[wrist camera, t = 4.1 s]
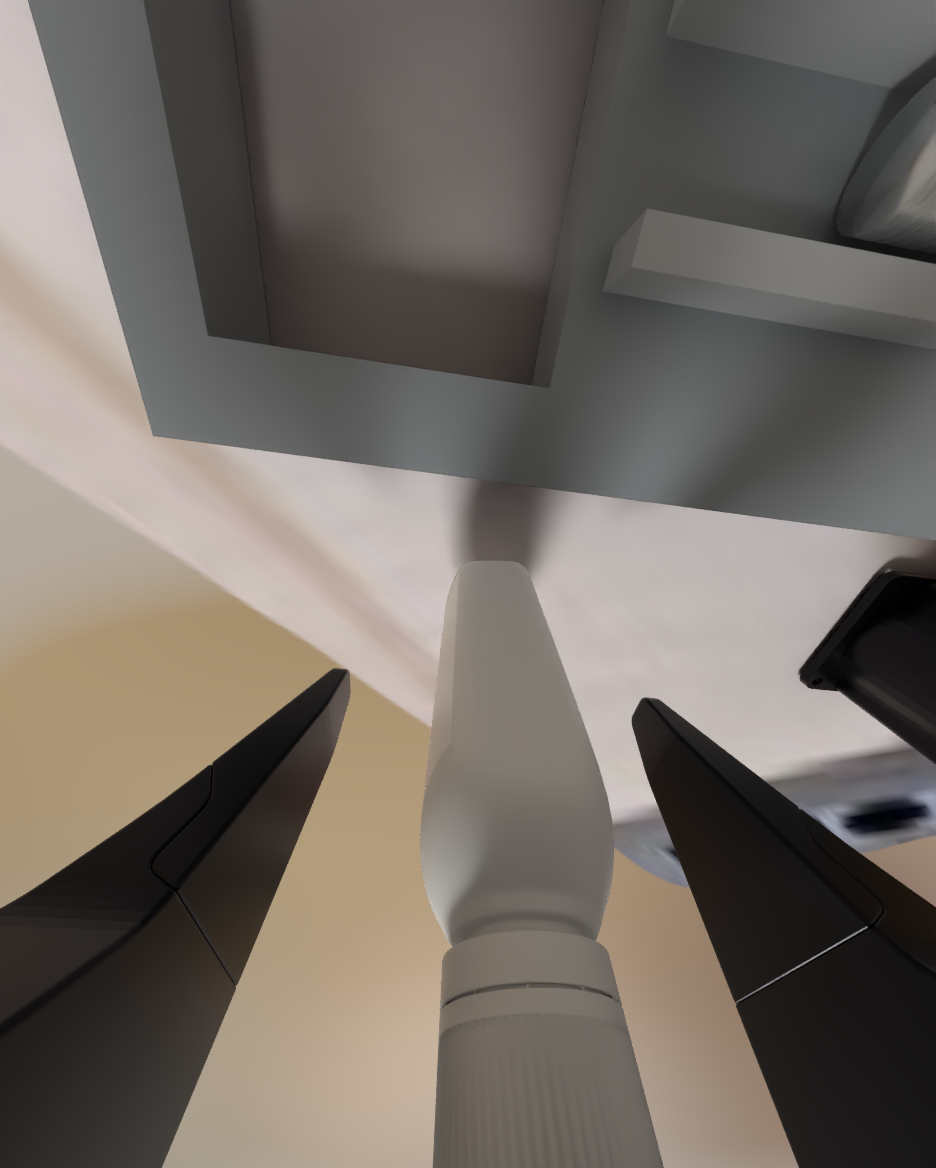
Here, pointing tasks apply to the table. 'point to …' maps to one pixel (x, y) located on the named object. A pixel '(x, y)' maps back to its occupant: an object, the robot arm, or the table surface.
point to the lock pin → (897, 181)
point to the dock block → (562, 267)
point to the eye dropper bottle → (522, 901)
